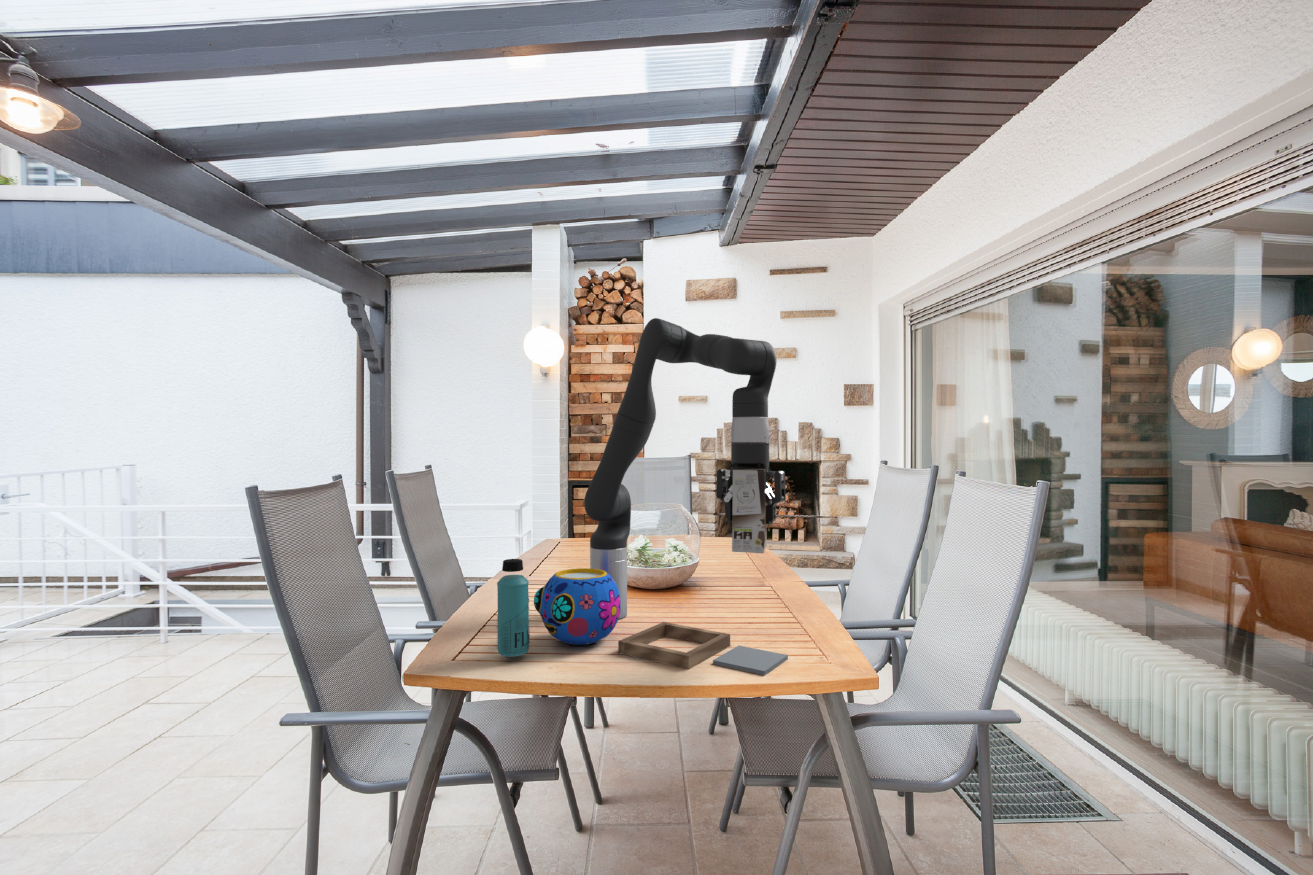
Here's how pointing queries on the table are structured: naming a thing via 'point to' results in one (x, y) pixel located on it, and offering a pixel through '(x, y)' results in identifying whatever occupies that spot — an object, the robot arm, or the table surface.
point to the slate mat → (750, 660)
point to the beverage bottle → (513, 611)
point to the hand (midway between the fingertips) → (750, 522)
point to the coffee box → (749, 510)
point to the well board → (641, 649)
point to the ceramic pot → (579, 605)
